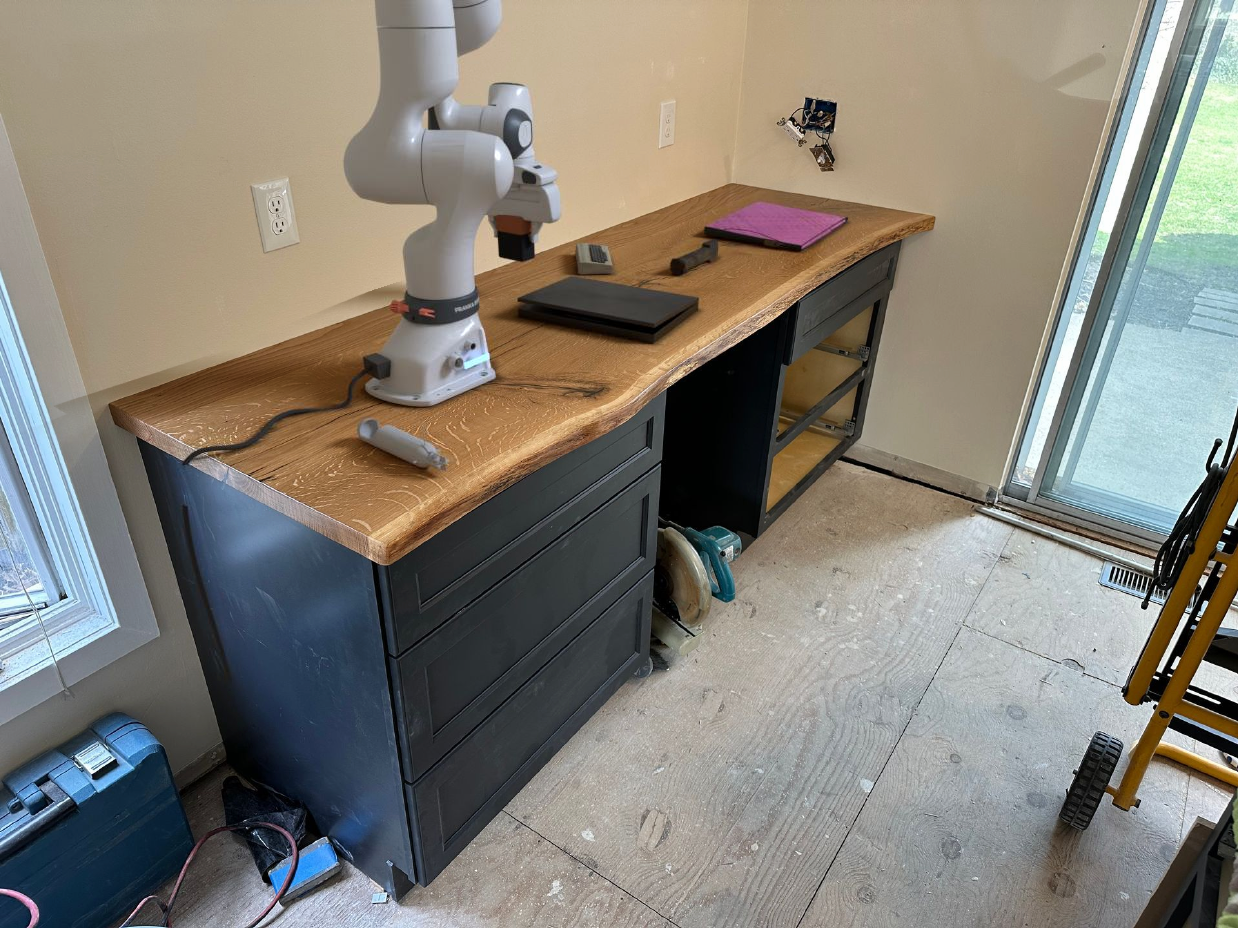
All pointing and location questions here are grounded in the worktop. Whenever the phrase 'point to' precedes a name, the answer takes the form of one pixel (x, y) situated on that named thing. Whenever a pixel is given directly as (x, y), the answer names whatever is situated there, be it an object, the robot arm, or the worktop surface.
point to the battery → (514, 238)
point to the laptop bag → (775, 226)
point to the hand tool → (695, 258)
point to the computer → (593, 259)
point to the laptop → (605, 322)
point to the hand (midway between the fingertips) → (516, 240)
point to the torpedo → (401, 444)
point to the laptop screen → (610, 301)
